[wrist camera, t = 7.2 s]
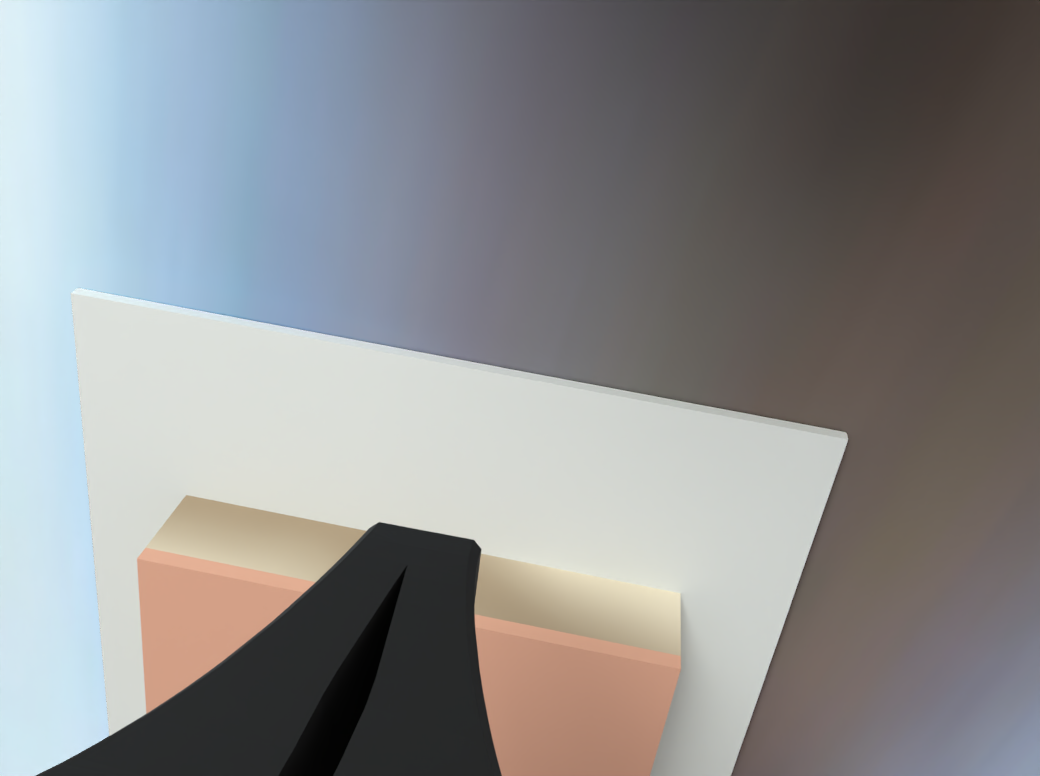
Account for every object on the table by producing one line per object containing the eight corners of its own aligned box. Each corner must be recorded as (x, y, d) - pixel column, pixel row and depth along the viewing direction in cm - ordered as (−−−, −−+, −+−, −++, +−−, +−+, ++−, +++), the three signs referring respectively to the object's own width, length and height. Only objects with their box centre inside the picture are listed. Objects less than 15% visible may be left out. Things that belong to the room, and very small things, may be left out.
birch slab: (137, 558, 22) (151, 802, 26) (681, 669, 21) (612, 903, 25) (185, 494, 24) (193, 728, 28) (680, 593, 23) (617, 819, 27)
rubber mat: (846, 432, 21) (848, 439, 21) (691, 879, 28) (691, 888, 28) (78, 288, 22) (70, 293, 22) (117, 755, 29) (112, 763, 29)
